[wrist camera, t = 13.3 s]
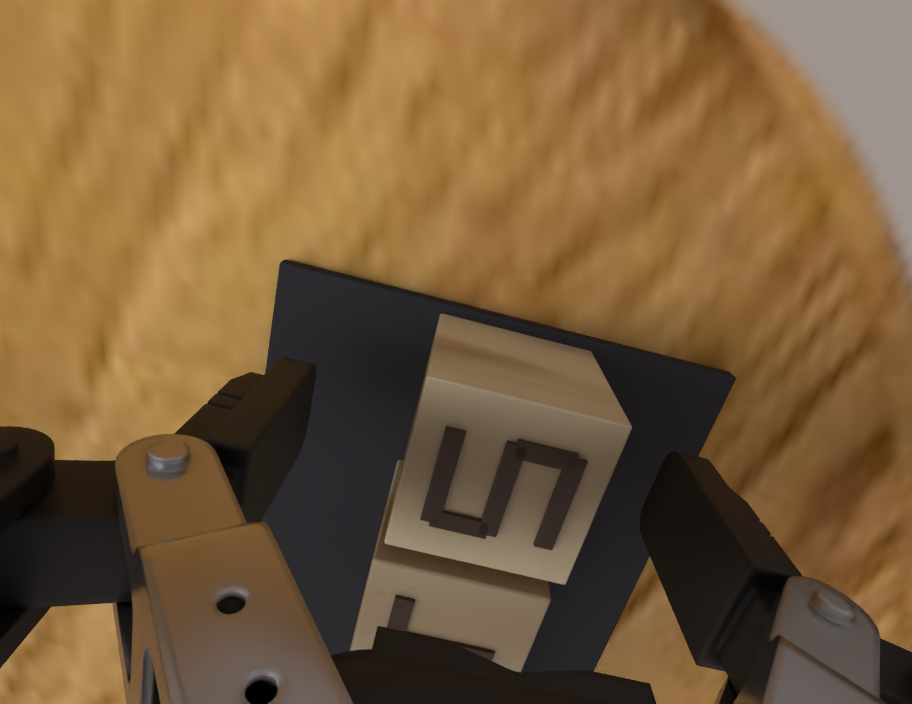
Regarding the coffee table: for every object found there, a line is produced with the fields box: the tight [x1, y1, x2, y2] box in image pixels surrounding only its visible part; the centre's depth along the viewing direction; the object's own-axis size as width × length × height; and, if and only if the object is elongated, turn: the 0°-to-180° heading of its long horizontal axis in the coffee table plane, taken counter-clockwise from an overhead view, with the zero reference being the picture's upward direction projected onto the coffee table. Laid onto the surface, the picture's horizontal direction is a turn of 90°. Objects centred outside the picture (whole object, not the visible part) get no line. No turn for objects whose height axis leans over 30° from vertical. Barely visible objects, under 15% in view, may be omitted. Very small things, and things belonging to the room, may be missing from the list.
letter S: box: [384, 314, 632, 585], centre depth 13 cm, size 4×4×4 cm
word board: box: [262, 260, 736, 672], centre depth 18 cm, size 24×12×1 cm, turn 166°
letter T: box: [350, 459, 551, 672], centre depth 14 cm, size 4×4×4 cm
